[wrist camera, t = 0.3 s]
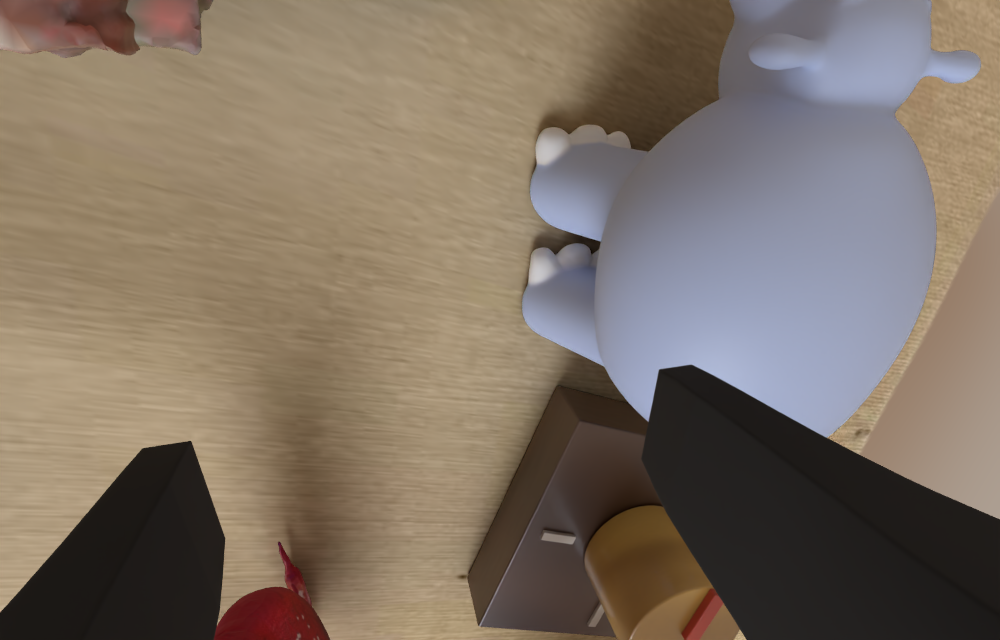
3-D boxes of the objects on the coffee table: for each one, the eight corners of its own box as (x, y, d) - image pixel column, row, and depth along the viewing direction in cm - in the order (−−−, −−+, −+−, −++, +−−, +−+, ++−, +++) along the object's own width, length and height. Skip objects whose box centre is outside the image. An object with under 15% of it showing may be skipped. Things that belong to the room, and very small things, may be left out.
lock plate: (650, 597, 29) (677, 645, 26) (466, 577, 25) (478, 630, 23) (749, 433, 26) (790, 470, 23) (556, 384, 22) (581, 422, 20)
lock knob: (654, 593, 25) (710, 690, 21) (566, 583, 23) (609, 686, 19) (702, 512, 23) (772, 601, 19) (612, 496, 22) (668, 588, 18)
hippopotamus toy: (867, -38, 18) (1306, -126, 10) (757, 372, 24) (974, 537, 16) (548, -80, 16) (774, -247, 7) (512, 389, 22) (615, 596, 13)
